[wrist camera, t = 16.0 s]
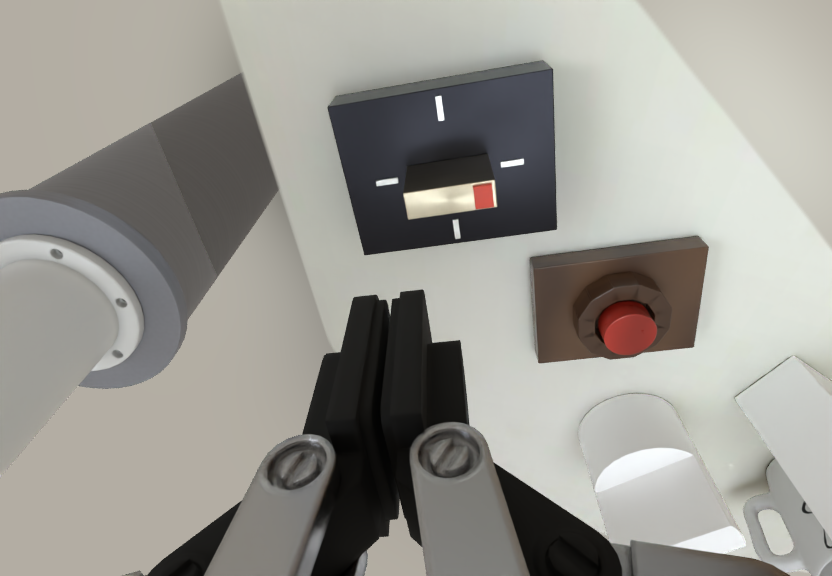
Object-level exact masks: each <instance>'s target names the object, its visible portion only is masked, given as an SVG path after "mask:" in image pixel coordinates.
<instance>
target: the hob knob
mask: <svg viewBox="0 0 832 576" xmlns="http://www.w3.org/2000/svg"><path fill="white" fill-rule="evenodd" d="M403 196H404V201H405V207H406V212H407V217H408V220H410V219H417V218H424V217H431V216H438V215H445V214H452V213H459V212H466V211H473V210H480V209H487V208H494V207H497V196H496V185H495V178H494V175H493V171H492V167H491V163H490V160H489V156H488V154H483V155H477V156H470V157H464V158H457V159H451V160H444V161H438V162H432V163H425V164H419V165H412V166H407V171H406V177H405V184H404V191H403Z"/></svg>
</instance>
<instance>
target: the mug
mask: <svg viewBox="0 0 832 576" xmlns="http://www.w3.org/2000/svg"><path fill="white" fill-rule="evenodd" d="M766 477H767V481H768V484H769V489H770V490H769V492H768V493H766V494H761V495H757V496H754V497H752V498H750V499H749V500H748V501H747V502H746V503H745V505H744V508H743V513H744V517H745V520H746V523H747V525H748V528H749V532H750V536H751V540H752V543H753V546H754V549H755V551H756V553H757V555H758V556H759V558H760V559H761V561H763V562H766V563H769V564H772V565H774V566H775V567H777V568H779V569H780V570H782V571H783V572H795V571H799V570H807V571H808V572H809V573H810V574H811V576H832V540H831V539H830V537H829V536H828V534H827V533H826V531H825V530H824V528H823V527H822V526H821V524H820V523H819V521H818V520H817V518H816V517H815V515H814V514H813V512H812V511H811V510H810V508H809V507H808V505H807V504H806V502H805V501H804V499H803V498H802V496H801V495H800V494H799V492H798V491H797V489H796V488H795V486H794V485H793V483H792V482H791V480H790V479H789V477H788V476H787V475H786V473H785V472H784V470H783V469H782V467H781V466H780V464H779V463H778V461H777V460H776V459H774V460H773V461H772V462H771V463H770V464H769V466H768V468H767V471H766ZM766 509H770V510H775V511H777V512H778V513H779V514H780V515H781V517H782V519H783V521H784V523H785V525H786V528H787V530H788V532H789V534H790V536H791V538H792V541H793V545H794V547H793V550H792V551H791V552H790V553H788V554H785V555H775V554H773V553H772V552H771V550H770V548H769V546H768V544H767V541H766V538H765V536H764V533H763V530H762V527H761V525H760V522H759V520H758V513H759V512H760V511H762V510H766Z"/></svg>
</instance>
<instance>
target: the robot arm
mask: <svg viewBox="0 0 832 576" xmlns="http://www.w3.org/2000/svg"><path fill="white" fill-rule="evenodd" d="M143 331H144V315H143V312H142V308H141V304H140V302H139V300H138V298H137V296H136V294H135V292H134V291H133V289H132V288H131V287H130V285H129V284H128V282H127V281H126V280H125V279H124V278H123V277H122V275H121V274H120V273H119V272H118V271H117V270H116V269H115V268H114V267H112V266H111V265H110V264H109V263H107V262H106V261H105V260H103V259H102V258H101V257H99V256H98V255H96V254H94V253H93V252H91V251H89V250H87V249H86V248H84V247H81V246H79V245H77V244H74V243H72V242H70V241H67V240H63V239H60V238H56V237H52V236H46V235H37V234H30V235H18V236H14V237H10V238H6V239H4V240H2V241H1V242H0V477H1V476H2V474H4V472H5V471H6V470H7V469H8V468H9V466H10V465H11V464H12V463H13V462H14V461H15V459H16V458H17V457H18V456H19V455H20V453H21V452H22V451H23V450H24V449H25V448H26V447H27V445H28V444H29V443H30V442H31V441H32V439H33V438H34V437H35V436H36V435H37V434H38V432H39V431H40V430H41V429H42V428H43V427H44V425H45V424H46V423H47V422H48V421H49V419H50V418H51V417H52V416H53V415H54V414H55V412H56V411H57V410H58V409H59V408H60V406H61V405H62V404H63V403H64V402H65V401H66V400H67V398H68V397H69V396H70V395H71V394H72V392H73V391H74V390H75V389H76V388H77V386H78V385H79V384H80V383H81V382H82V381H83V380H84V378H85V377H86V376H87V375H88V374H89V373H90V371H98V370H103V369H108V368H111V367H113V366H116V365H118V364H120V363H121V362H123V361H124V360H126V359H127V358H128V357H129V356H130V355H131V354H132V352H133V351H134V350H135V349H136V348H137V346H138V344H139V342H140V341H141V339H142V335H143ZM399 499H400V501H401V505H402V509H403V513H404V517H405V518H406V520H407V524H408V528H409V532H410V536H411V537H412V538H413V539H414V540H415V541H416V542H417V543H418V544H419V545H420V546H421V547H423V554H424V561H425V567H426V574H427V576H790V575H788V574H787V573H785V572H783V571H782V570H780V569H779V568H777V567H775V566H774V565H772V564H769V563H766V562H763V561H759V560H756V559H752V558H746V557H739V556H733V555H726V554H720V553H713V552H707V551H700V550H694V549H687V548H680V547H674V546H667V545H661V544H654V543H648V542H641V541H635V540H631V541H630V546H628V545H621V544H615V543H610V542H609V541H608V540H607V539H606V538H604V537H603V536H602V535H601V534H600V533H599V532H597V531H596V530H595V529H593V528H592V527H590V526H589V525H587V524H585V523H584V522H582V521H581V520H579V519H578V518H576V517H575V516H573V515H572V514H570V513H569V512H567V511H566V510H564V509H563V508H561V507H560V506H558V505H557V504H555V503H554V502H552V501H551V500H549V499H548V498H546V497H545V496H543V495H542V494H540V493H539V492H537V491H536V490H534V489H533V488H531V487H530V486H528V485H527V484H525V483H524V482H522V481H521V480H519V479H518V478H516V477H515V476H513V475H512V474H510V473H509V472H507V471H506V470H504V469H503V468H501V467H500V466H498V465H497V464H495V463H494V462H493V460H492V457H491V454H490V450H489V447H488V444H487V442H486V440H485V439H484V437H483V435H482V434H481V433H480V432H479V431H477V430H476V429H475V428H473V427H471V426H469V415H468V404H467V394H466V384H465V375H464V366H463V358H462V350H461V342H460V340H458V341H448V342H438V343H432V338H431V332H430V325H429V319H428V313H427V306H426V300H425V294H424V290H415V291H405V292H400V298H396V299H392V306H391V315H390V313H389V309H388V304H387V301H386V300H379V298H378V296H377V295H369V296H360V297H354V298H353V301H352V305H351V310H350V314H349V318H348V323H347V327H346V331H345V336H344V340H343V344H342V349H341V352H338V353H329V354H326V355H324V358H323V360H322V364H321V368H320V372H319V375H318V379H317V382H316V386H315V390H314V393H313V397H312V401H311V405H310V408H309V412H308V415H307V419H306V423H305V426H304V430H303V434H302V435H298V436H294V437H292V438H288V439H286V440H285V441H283V442H281V443H279V444H278V445H276V446H275V447H274V448H273V449H272V450H271V451H270V452H269V453H268V454H267V455H266V457H265V458H264V460H263V461H262V463H261V465H260V467H259V469H258V470H257V472H256V475H255V476H254V478H253V480H252V482H251V484H250V487H249V488H248V490H247V492H246V494H245V496H244V498H243V500H242V501H241V502H239V503H238V504H237V505H235V506H234V507H233V508H231V509H230V510H228V511H227V512H226V513H224V514H223V515H222V516H220V517H219V518H218V519H216V520H215V521H214V522H212V523H211V524H210V525H208V526H207V527H206V528H204V529H203V530H202V531H200V532H199V533H198V534H196V535H195V536H194V537H192V538H191V539H190V540H188V541H187V542H186V543H184V544H183V545H182V546H180V547H179V548H178V549H176V550H175V551H174V552H172V553H171V554H170V555H168V556H167V557H166V558H164V559H163V560H162V561H161V562H160V563H159V564H158V565H156V566H155V567H154V568H153V569H152V570H151V572H150V573H149V574H148V575H145V576H364V575H365V571H366V567H367V559H368V554H367V549H368V548H370V547H371V546H372V544H374V543H375V542H376V541H377V540H378V539H379V537H384V536H385V537H386V536H389V522H390V520H393V519H398V515H399ZM123 576H144V575H143V574H142V573H141V571H137V572H133V573H130V574H126V575H123Z"/></svg>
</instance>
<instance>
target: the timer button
mask: <svg viewBox="0 0 832 576" xmlns="http://www.w3.org/2000/svg"><path fill="white" fill-rule="evenodd" d="M598 329H599V332H600V334H601V336H602V338H603V341H604V343H605V345H606V347H607V348H608V349H609V350H610V351H612V352H614V353H616V354H620V355H632V354H636V353H639V352H641V351H643V350H645V349H646V348H648V347H649V346H650V345H651V344H652V343H653V341H654V340H655V338H656V335H657V326H656V324H655V322H654V320H653V319H652V317H651V315H650V314H649V312H648V311H647V309H646V308H645V307H644V306H643V305H642V304H640V303H638V302H635V301H620V302H617V303H614V304H612V305H610V306H609V307H608V308H606V309H605V310H604V311H603V312H602V314H601V315H600V317H599V320H598Z"/></svg>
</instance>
